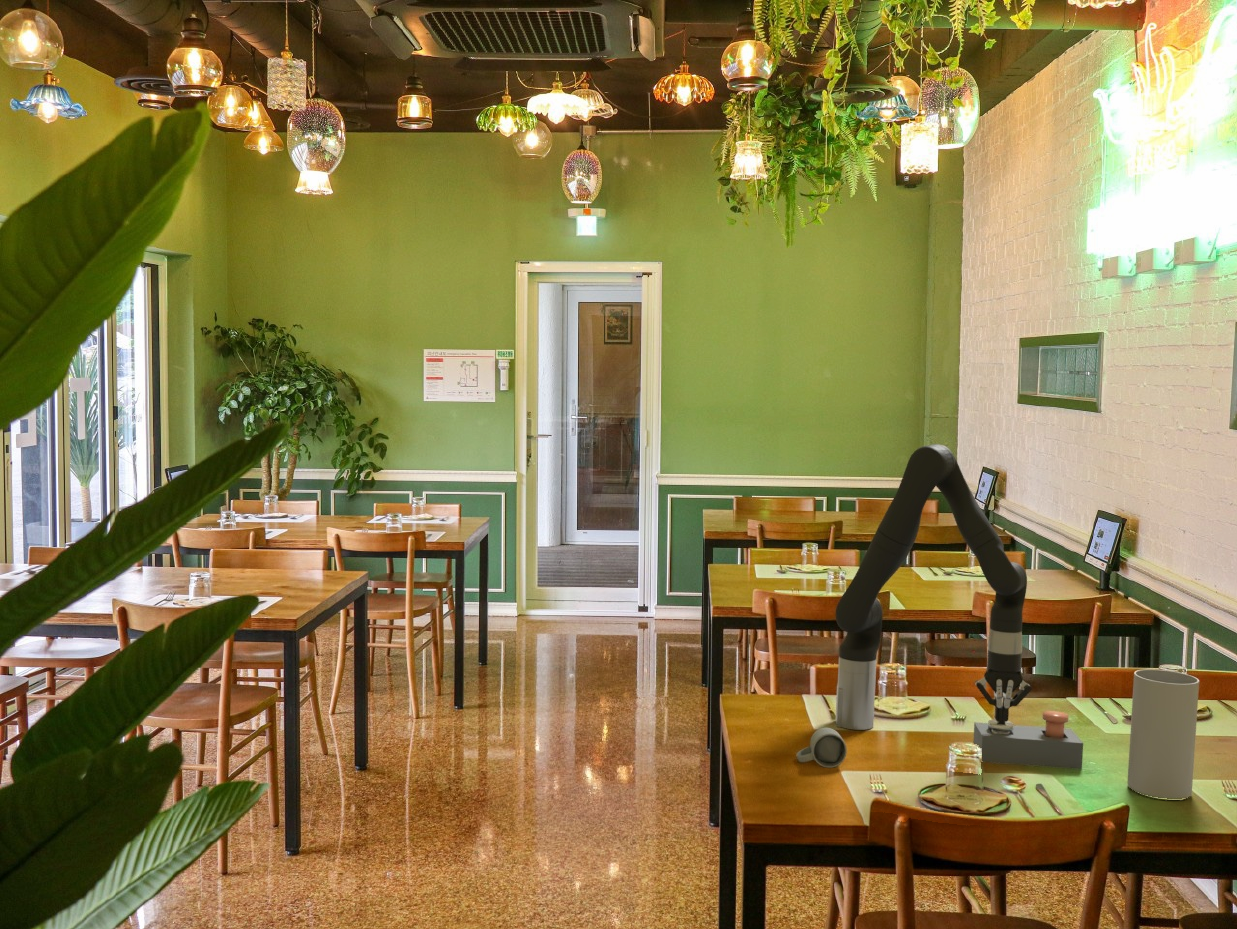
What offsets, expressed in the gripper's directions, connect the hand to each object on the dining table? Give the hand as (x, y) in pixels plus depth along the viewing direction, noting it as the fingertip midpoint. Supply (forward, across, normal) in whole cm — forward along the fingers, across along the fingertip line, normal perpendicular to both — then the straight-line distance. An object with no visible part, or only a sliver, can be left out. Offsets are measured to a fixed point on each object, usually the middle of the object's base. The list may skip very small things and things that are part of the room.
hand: (1001, 722), depth 266 cm
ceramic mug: (+8, -41, -14) cm, 44 cm away
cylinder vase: (+8, +30, -17) cm, 35 cm away
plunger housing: (+8, +6, 0) cm, 10 cm away
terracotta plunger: (+3, +12, 0) cm, 12 cm away
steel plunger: (+6, 0, 0) cm, 6 cm away
